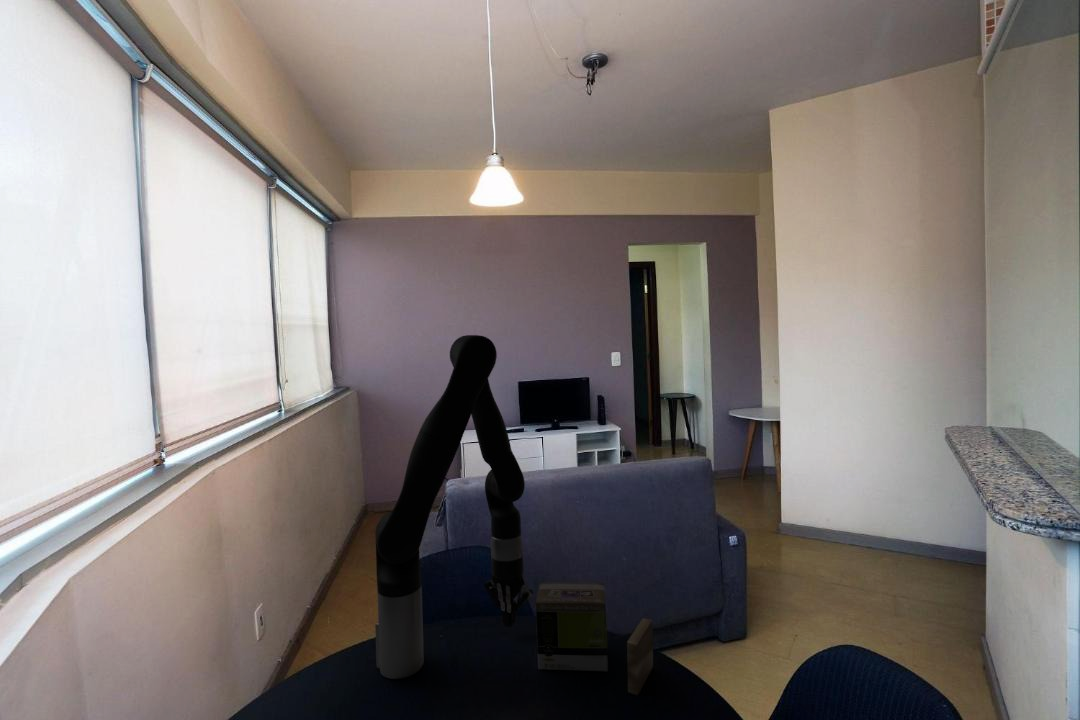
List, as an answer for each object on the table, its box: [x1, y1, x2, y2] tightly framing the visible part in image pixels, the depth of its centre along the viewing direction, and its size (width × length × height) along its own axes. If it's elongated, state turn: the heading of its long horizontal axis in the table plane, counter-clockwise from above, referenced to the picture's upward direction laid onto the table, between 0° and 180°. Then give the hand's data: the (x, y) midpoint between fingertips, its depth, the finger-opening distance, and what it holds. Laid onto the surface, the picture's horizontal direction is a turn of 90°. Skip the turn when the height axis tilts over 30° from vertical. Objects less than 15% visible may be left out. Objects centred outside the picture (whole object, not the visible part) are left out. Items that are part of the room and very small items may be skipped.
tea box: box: [535, 581, 609, 672], centre depth 110 cm, size 15×10×15 cm, turn 84°
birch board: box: [626, 618, 654, 696], centre depth 102 cm, size 2×10×10 cm, turn 150°
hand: (509, 625), depth 119 cm, fingers closed
